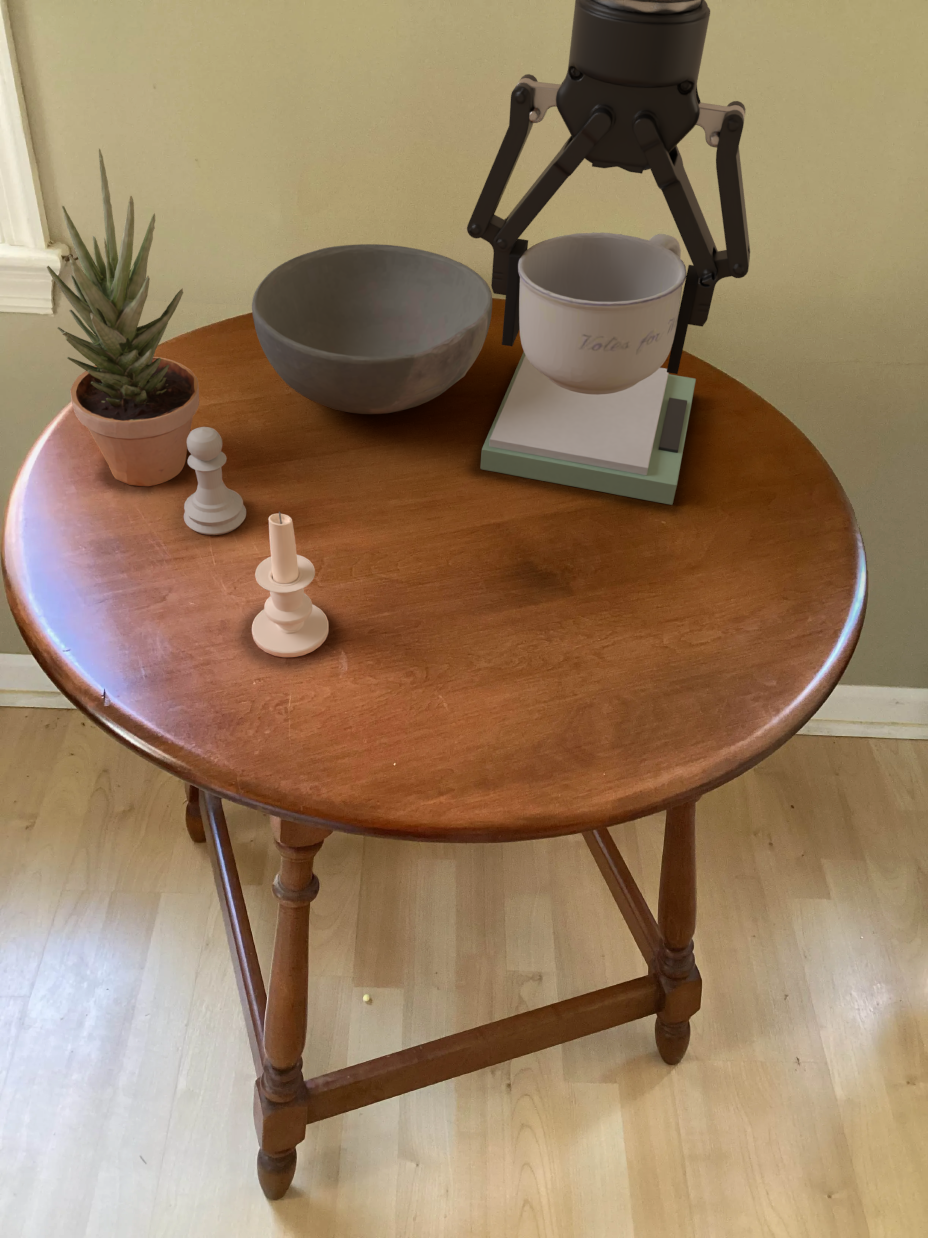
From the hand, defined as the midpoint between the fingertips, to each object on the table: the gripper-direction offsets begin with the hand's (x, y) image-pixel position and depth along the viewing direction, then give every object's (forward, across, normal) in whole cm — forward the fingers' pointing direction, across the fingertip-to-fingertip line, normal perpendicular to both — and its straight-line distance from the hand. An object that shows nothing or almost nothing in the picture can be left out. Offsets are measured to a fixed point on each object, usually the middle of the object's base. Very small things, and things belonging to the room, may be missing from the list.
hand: (591, 349), depth 73 cm
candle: (+15, +16, +19) cm, 29 cm away
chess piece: (+15, +26, +9) cm, 31 cm away
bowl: (+15, +20, -12) cm, 28 cm away
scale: (+14, 0, -12) cm, 19 cm away
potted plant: (+15, +34, +4) cm, 37 cm away
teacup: (+1, -1, 0) cm, 2 cm away
